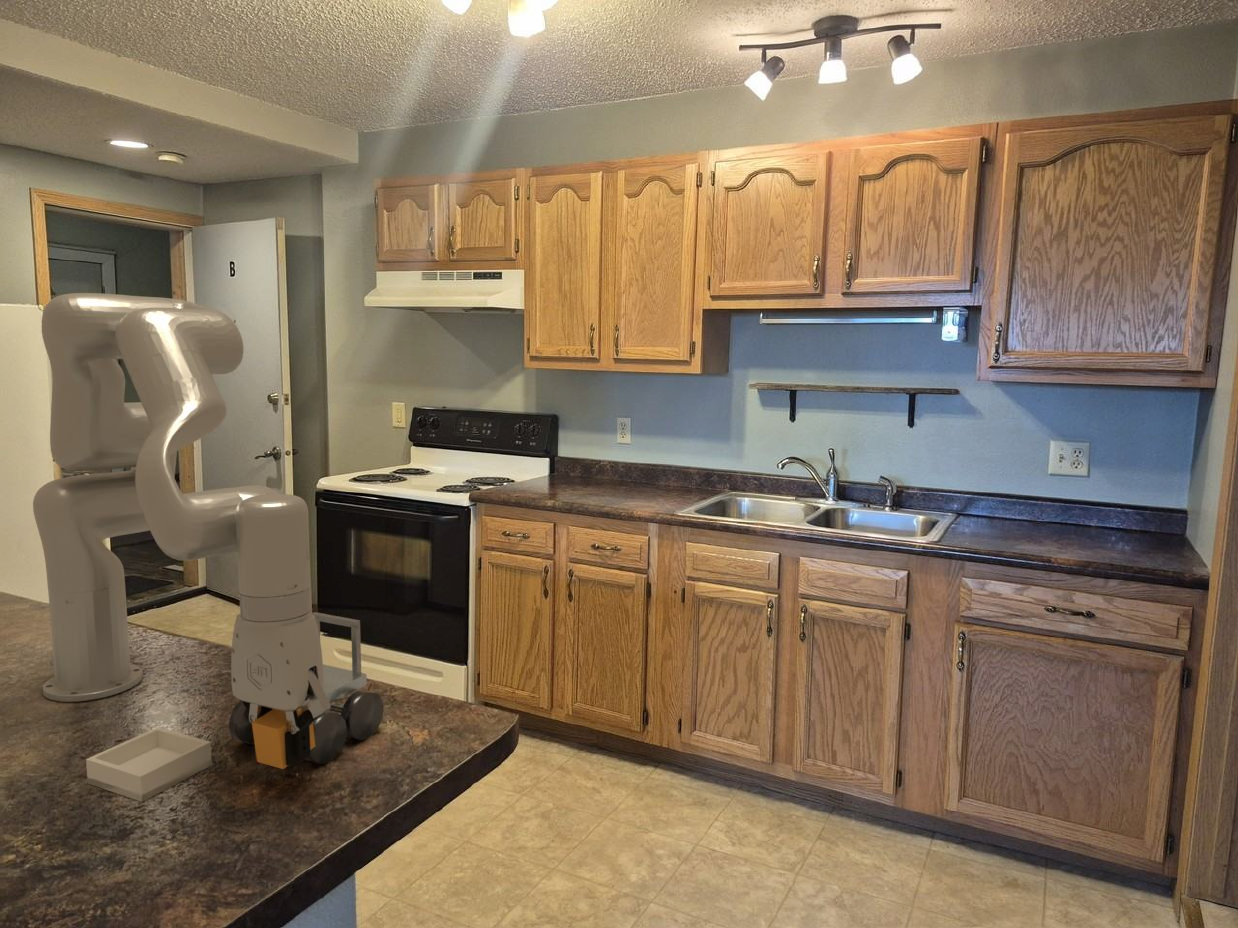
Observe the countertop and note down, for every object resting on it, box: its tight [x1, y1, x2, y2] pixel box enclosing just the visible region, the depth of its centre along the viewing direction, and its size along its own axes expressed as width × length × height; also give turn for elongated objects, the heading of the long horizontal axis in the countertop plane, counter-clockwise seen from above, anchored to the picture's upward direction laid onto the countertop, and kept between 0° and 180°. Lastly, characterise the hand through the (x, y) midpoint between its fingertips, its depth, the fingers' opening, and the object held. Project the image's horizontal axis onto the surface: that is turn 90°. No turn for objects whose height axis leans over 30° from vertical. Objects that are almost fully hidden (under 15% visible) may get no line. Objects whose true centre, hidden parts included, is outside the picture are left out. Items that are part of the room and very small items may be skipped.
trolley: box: [228, 611, 384, 765], centre depth 107 cm, size 14×13×15 cm
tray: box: [85, 726, 213, 803], centre depth 99 cm, size 9×9×3 cm
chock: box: [252, 708, 315, 770], centre depth 96 cm, size 4×5×5 cm
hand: (282, 754), depth 96 cm, fingers closed on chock, 4 cm apart
